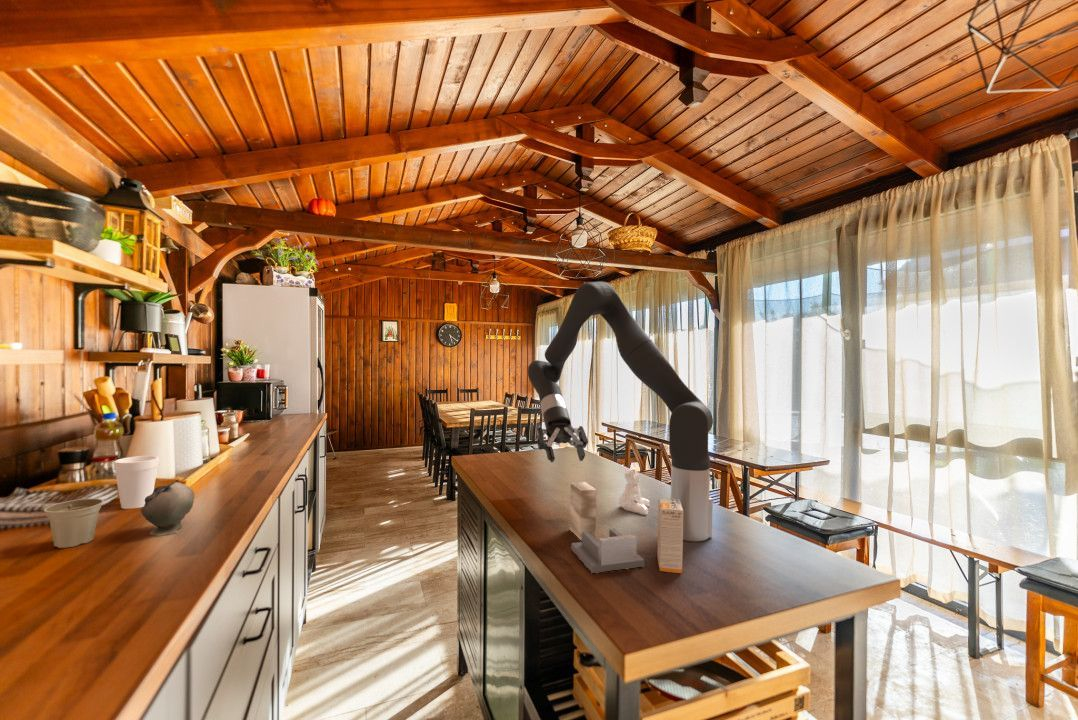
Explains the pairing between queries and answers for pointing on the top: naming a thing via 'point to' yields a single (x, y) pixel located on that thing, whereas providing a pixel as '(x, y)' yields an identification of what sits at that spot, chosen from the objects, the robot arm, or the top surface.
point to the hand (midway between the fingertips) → (567, 460)
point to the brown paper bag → (582, 509)
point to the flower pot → (73, 521)
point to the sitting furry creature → (633, 494)
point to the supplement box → (670, 535)
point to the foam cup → (135, 479)
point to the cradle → (608, 552)
